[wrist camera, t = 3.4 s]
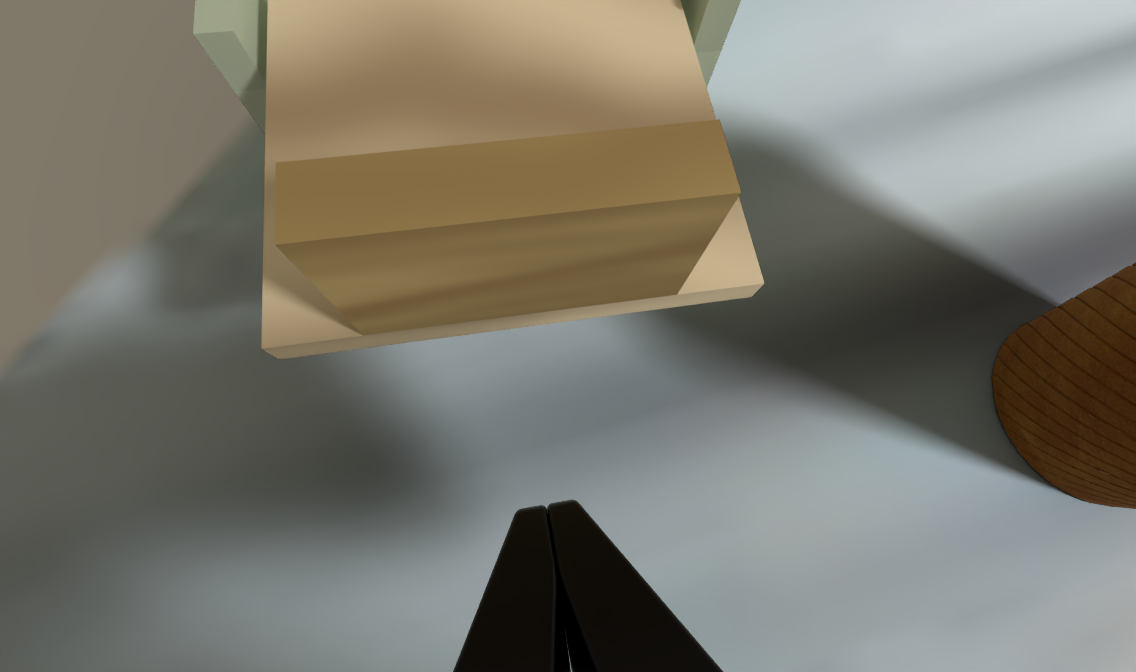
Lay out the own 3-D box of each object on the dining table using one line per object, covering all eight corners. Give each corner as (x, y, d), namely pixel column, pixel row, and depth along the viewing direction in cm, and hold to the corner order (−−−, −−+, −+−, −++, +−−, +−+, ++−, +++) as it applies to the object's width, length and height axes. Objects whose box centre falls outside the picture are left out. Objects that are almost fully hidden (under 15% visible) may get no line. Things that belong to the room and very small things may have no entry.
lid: (751, 296, 11) (866, 178, 7) (279, 359, 10) (117, 262, 6) (663, -12, 14) (712, -221, 10) (281, 16, 13) (168, -203, 9)
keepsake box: (667, 186, 20) (743, -7, 12) (328, 223, 18) (192, 33, 11) (616, -17, 23) (653, -266, 15) (323, 3, 21) (214, -256, 14)
